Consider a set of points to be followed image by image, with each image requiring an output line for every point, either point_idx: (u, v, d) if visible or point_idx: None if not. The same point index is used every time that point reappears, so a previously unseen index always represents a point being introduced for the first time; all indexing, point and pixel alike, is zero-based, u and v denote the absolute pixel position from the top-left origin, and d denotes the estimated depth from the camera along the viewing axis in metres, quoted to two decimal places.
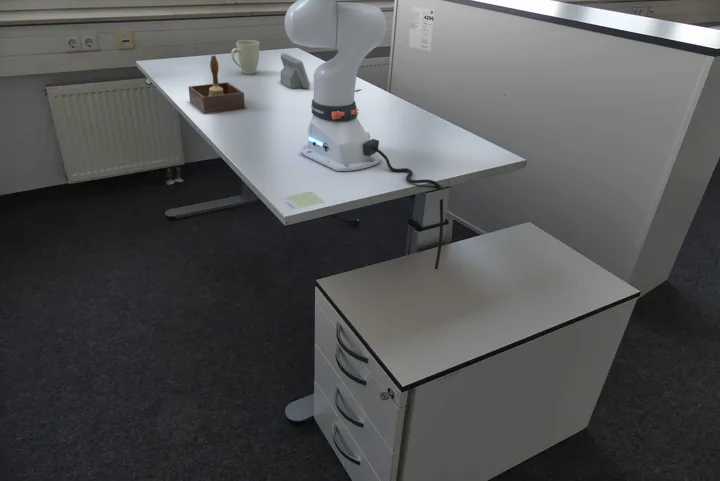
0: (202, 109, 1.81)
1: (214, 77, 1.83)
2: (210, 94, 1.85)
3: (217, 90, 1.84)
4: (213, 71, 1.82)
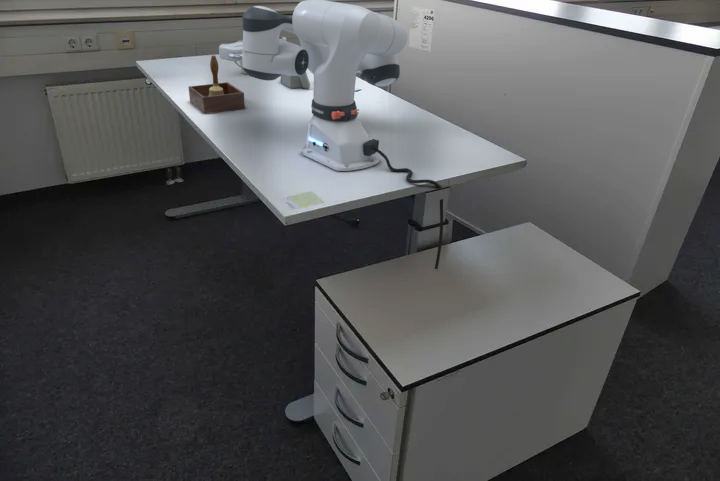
0: (202, 109, 1.81)
1: (214, 77, 1.83)
2: (210, 94, 1.85)
3: (217, 90, 1.84)
4: (213, 71, 1.82)
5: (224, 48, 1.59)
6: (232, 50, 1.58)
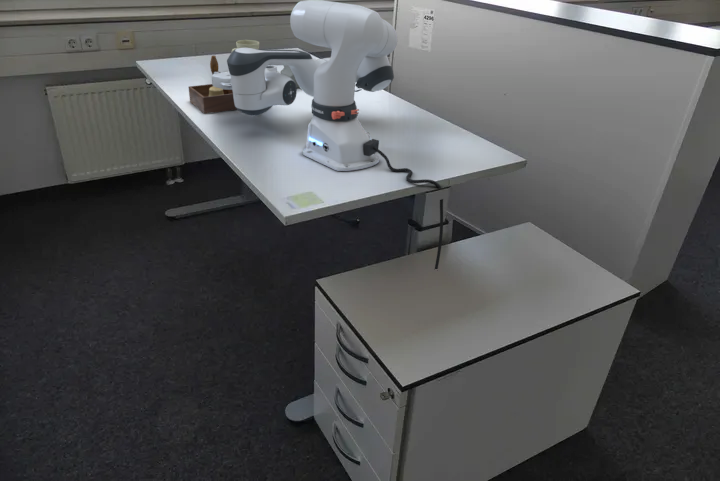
0: (202, 109, 1.81)
1: None
2: (210, 94, 1.85)
3: (217, 90, 1.84)
4: (213, 71, 1.82)
5: (216, 77, 1.67)
6: (224, 79, 1.66)
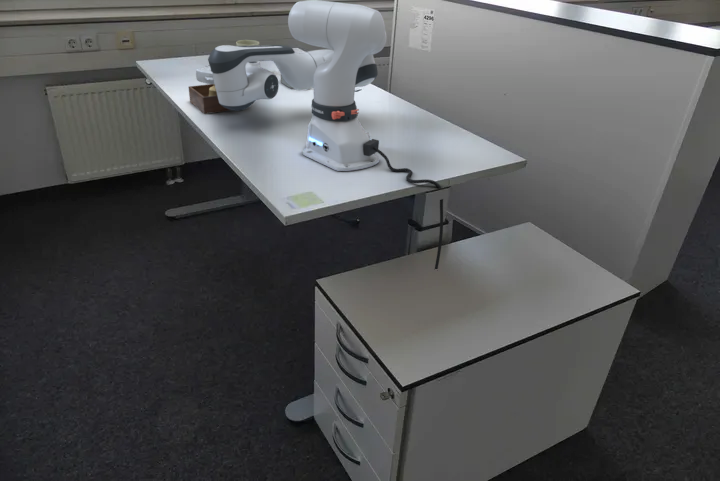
0: (202, 109, 1.81)
1: None
2: (210, 94, 1.85)
3: None
4: None
5: (200, 72, 1.71)
6: (207, 74, 1.70)
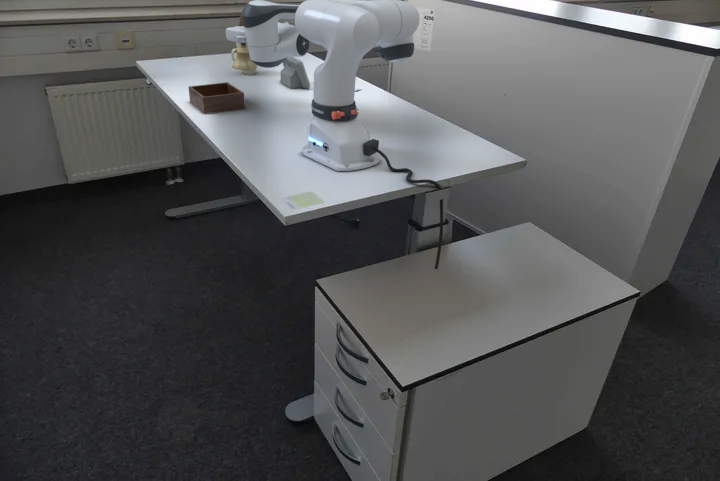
0: (202, 109, 1.81)
1: None
2: (238, 56, 1.85)
3: (245, 52, 1.84)
4: None
5: (231, 30, 1.71)
6: (238, 32, 1.70)
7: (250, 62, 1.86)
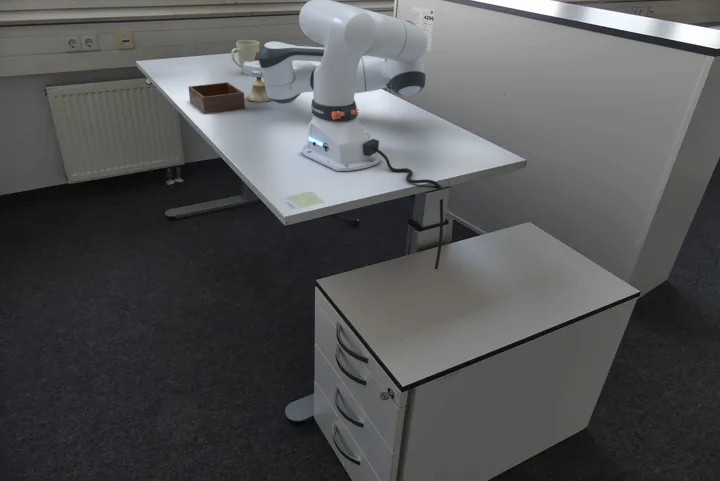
0: (202, 109, 1.81)
1: None
2: (253, 89, 1.94)
3: (261, 85, 1.93)
4: None
5: (247, 65, 1.80)
6: (255, 67, 1.78)
7: (265, 94, 1.95)
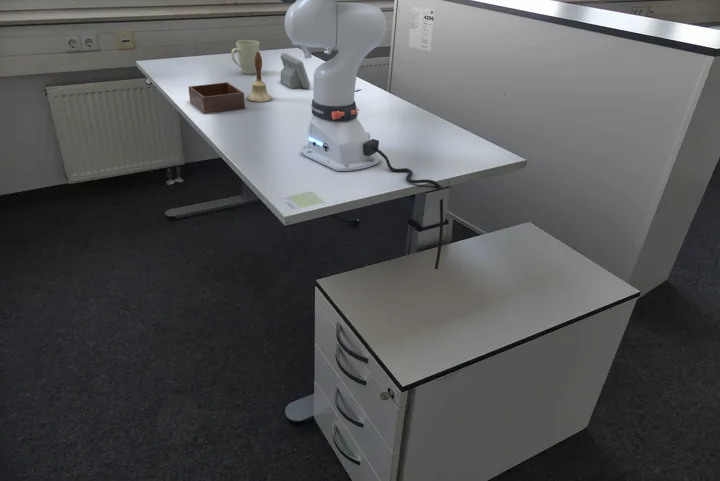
0: (202, 109, 1.81)
1: (258, 72, 1.92)
2: (253, 89, 1.94)
3: (261, 85, 1.93)
4: (257, 67, 1.90)
5: None
6: None
7: (265, 94, 1.95)
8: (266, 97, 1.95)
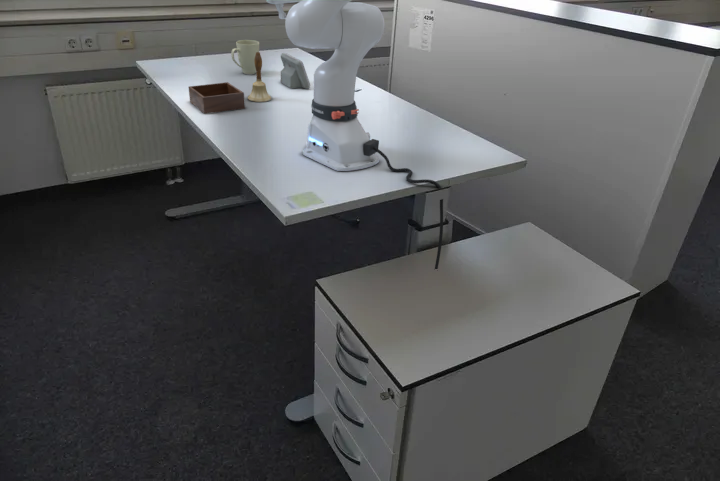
0: (202, 109, 1.81)
1: (258, 72, 1.92)
2: (253, 89, 1.94)
3: (261, 85, 1.93)
4: (257, 67, 1.90)
5: None
6: None
7: (265, 94, 1.95)
8: (266, 97, 1.95)
